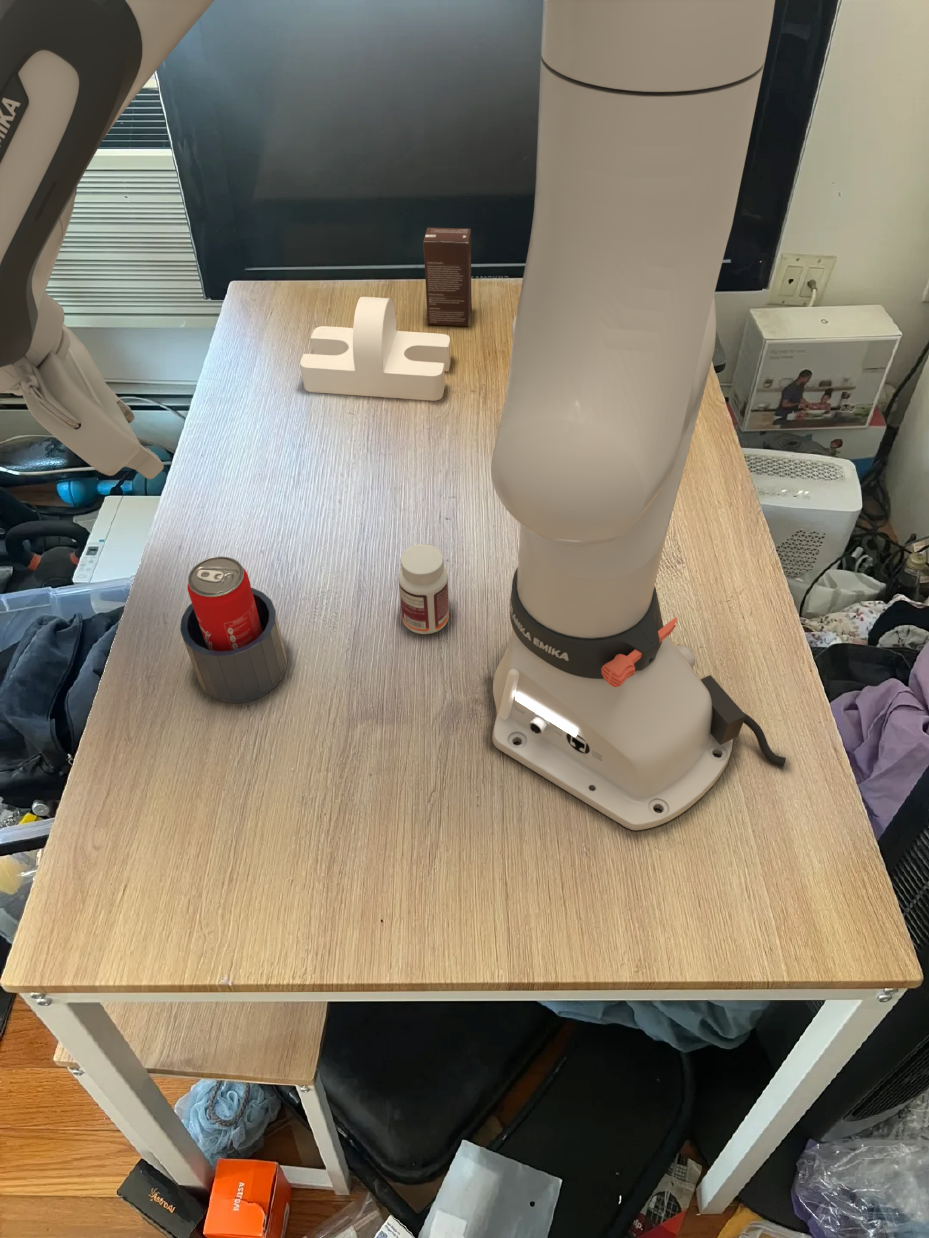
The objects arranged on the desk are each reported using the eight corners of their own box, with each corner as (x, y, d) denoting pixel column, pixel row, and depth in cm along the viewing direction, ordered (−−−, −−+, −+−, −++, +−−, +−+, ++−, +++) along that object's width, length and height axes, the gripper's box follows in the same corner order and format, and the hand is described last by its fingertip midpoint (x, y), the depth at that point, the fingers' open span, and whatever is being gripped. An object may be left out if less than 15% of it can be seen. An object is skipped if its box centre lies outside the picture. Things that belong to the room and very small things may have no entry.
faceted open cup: (304, 669, 87) (293, 621, 82) (229, 718, 83) (213, 671, 78) (254, 620, 91) (241, 571, 86) (181, 665, 87) (162, 617, 82)
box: (471, 310, 129) (472, 227, 120) (468, 327, 126) (469, 243, 117) (429, 308, 129) (426, 225, 120) (425, 325, 126) (422, 241, 117)
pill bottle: (439, 594, 93) (437, 535, 87) (455, 627, 90) (455, 568, 84) (395, 607, 92) (389, 548, 86) (410, 641, 89) (406, 582, 83)
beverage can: (257, 689, 85) (232, 602, 75) (205, 679, 85) (174, 592, 76) (277, 647, 88) (255, 559, 79) (227, 637, 89) (200, 550, 80)
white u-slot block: (441, 401, 115) (439, 328, 107) (302, 391, 116) (290, 319, 109) (451, 358, 121) (450, 287, 113) (319, 349, 123) (309, 278, 115)
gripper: (61, 359, 61) (203, 476, 72) (12, 261, 75) (138, 372, 85) (-5, 423, 62) (146, 531, 72) (-42, 315, 75) (90, 419, 85)
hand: (141, 444), depth 79 cm, fingers open, 8 cm apart
